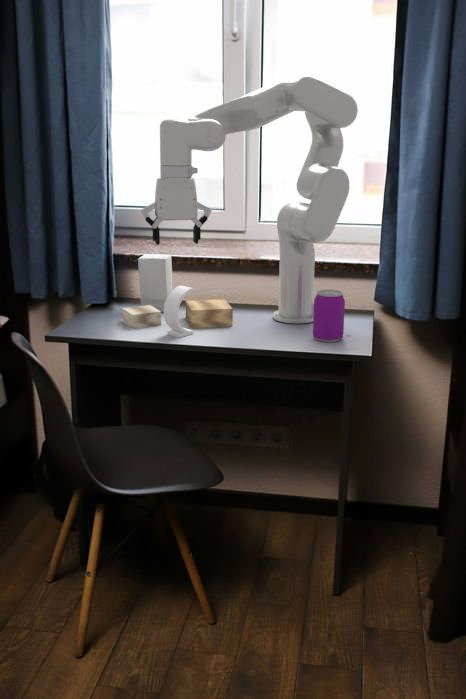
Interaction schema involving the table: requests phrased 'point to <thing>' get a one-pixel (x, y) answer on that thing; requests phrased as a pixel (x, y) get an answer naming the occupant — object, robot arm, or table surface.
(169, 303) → the white crescent piece
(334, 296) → the beverage can
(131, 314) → the birch block
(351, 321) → the table surface
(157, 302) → the skincare box
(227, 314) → the oak block
